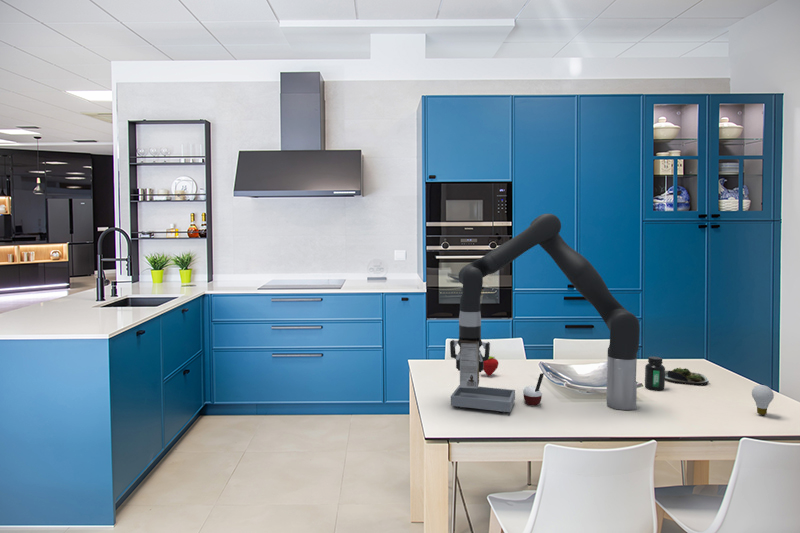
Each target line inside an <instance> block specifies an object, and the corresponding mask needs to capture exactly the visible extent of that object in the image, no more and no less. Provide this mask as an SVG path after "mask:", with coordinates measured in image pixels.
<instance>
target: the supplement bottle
mask: <svg viewBox="0 0 800 533" xmlns="http://www.w3.org/2000/svg"><path fill="white" fill-rule="evenodd" d="M647 358H648V360H647V362H648V363H646V364H645V366H644V388H645V389H646V390H649V391H653V392H654V391H655V392H662V391H664V390H665V388H666V387H665V382H666V381H665V371H666V367H665V365H663V358H662V357H658V356H649V357H647Z"/></svg>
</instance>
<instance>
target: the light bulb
mask: <svg viewBox="0 0 800 533" xmlns="http://www.w3.org/2000/svg"><path fill="white" fill-rule="evenodd" d="M751 390H752V391H751V397H752V399H753V400H754V402H755V405H756V413H757V414H758V415H759V416H766V415H767V414H768V408H769V406H770V404H771V403H772V401H773V400H774V396H775V394H774V392H773V390H772V388H770V387H769V386H767V385H764V384H758V385H756V386H754V387H753V388H752V389H751Z"/></svg>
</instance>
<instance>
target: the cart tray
mask: <svg viewBox="0 0 800 533" xmlns="http://www.w3.org/2000/svg"><path fill="white" fill-rule="evenodd" d="M515 400H516V389H509V388H508V389H507V388H497V387H488V386H479V385H478V388H460V384H459V385H458V386H456V388H455V390H453V392H452V394H451V395H450V406H452V407H456V408H457V409H461V408H470V409H477V410H487V411H497V412H501V414H505V413H506V412H507V413H511V411H512V409H513V406H514V404H515Z"/></svg>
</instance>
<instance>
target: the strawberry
mask: <svg viewBox="0 0 800 533" xmlns="http://www.w3.org/2000/svg"><path fill="white" fill-rule="evenodd" d="M498 366H499V360H498V359H496V358H495V356H491V355H489V359H488V360H487V361H484V369H483V371H484V373H485V374H486V376H487V377H491V376H492V374H493V373H495V372H496V370H497V369H498Z"/></svg>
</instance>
